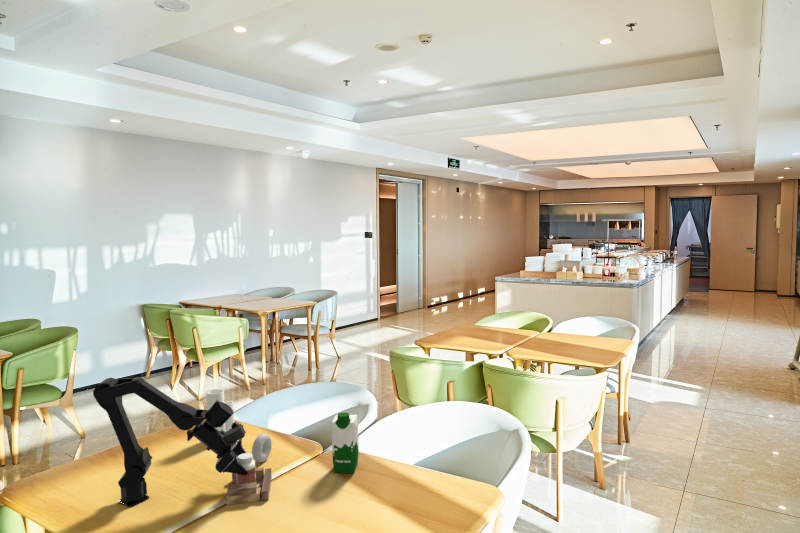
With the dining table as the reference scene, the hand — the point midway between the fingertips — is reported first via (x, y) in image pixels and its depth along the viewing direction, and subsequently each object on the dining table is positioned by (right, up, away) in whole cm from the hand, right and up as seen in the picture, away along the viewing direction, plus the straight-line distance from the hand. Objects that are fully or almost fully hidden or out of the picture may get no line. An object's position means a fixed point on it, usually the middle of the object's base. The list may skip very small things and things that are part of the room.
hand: (248, 467), depth 175 cm
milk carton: (+30, -6, +14) cm, 34 cm away
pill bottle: (-1, -7, 0) cm, 7 cm away
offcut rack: (+1, -7, 0) cm, 7 cm away
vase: (-23, -4, +42) cm, 48 cm away
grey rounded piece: (-1, -6, +21) cm, 22 cm away
